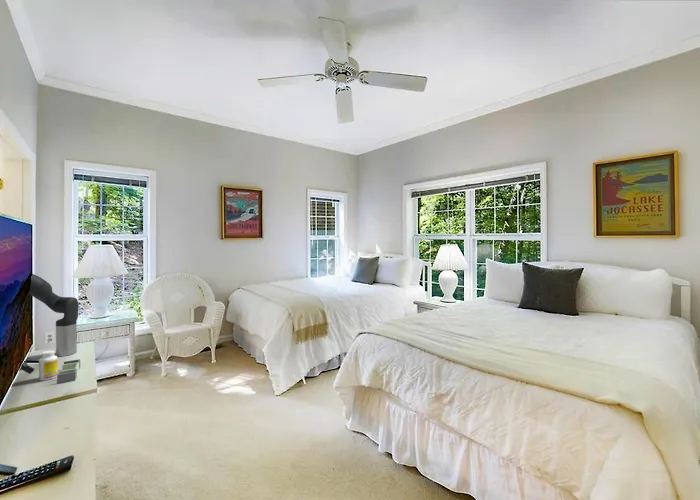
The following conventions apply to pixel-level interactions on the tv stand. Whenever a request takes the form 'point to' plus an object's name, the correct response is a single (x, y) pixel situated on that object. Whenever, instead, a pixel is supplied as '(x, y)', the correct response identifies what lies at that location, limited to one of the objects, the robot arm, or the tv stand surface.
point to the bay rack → (68, 371)
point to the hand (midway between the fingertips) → (32, 371)
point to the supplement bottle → (48, 365)
